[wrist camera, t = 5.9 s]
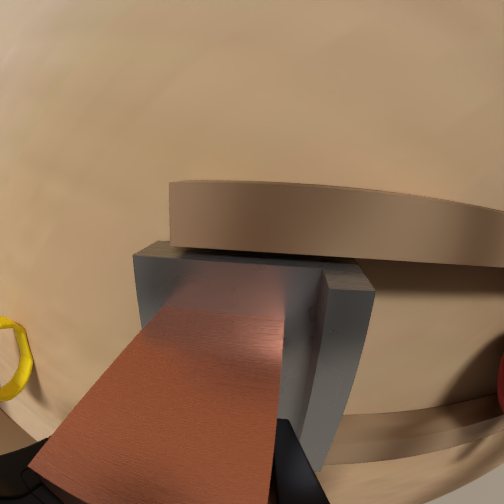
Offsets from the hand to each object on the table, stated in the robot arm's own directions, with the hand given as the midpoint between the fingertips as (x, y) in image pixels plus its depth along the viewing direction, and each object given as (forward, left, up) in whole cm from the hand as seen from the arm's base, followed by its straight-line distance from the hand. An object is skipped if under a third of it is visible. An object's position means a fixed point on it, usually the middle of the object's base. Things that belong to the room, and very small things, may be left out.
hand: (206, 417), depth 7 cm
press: (-1, 0, -4) cm, 4 cm away
